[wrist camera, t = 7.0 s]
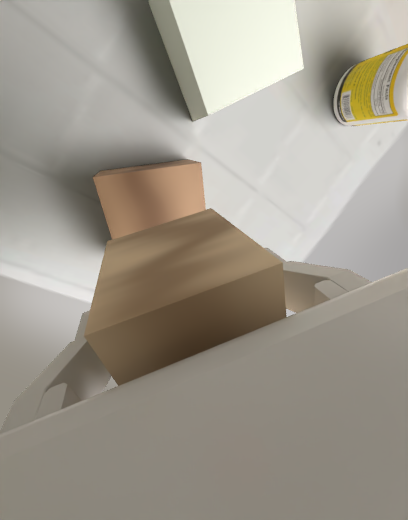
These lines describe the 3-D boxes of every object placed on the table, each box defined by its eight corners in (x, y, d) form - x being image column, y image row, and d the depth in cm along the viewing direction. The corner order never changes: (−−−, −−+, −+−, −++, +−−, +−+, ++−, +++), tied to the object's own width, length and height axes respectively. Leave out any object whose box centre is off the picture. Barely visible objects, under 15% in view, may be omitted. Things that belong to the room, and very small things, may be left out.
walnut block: (187, 159, 22) (201, 162, 18) (196, 236, 26) (209, 254, 22) (100, 170, 21) (92, 177, 16) (124, 250, 24) (122, 273, 20)
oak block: (211, 208, 11) (282, 262, 6) (228, 289, 13) (290, 379, 8) (107, 241, 10) (83, 335, 5) (145, 320, 13) (156, 440, 8)
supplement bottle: (385, 78, 24) (524, 41, 15) (356, 134, 26) (467, 128, 17) (350, 50, 22) (488, -10, 13) (322, 113, 24) (428, 95, 15)
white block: (243, -40, 17) (280, -102, 13) (268, 84, 21) (303, 68, 17) (148, 4, 17) (154, -45, 13) (192, 121, 21) (208, 115, 17)
